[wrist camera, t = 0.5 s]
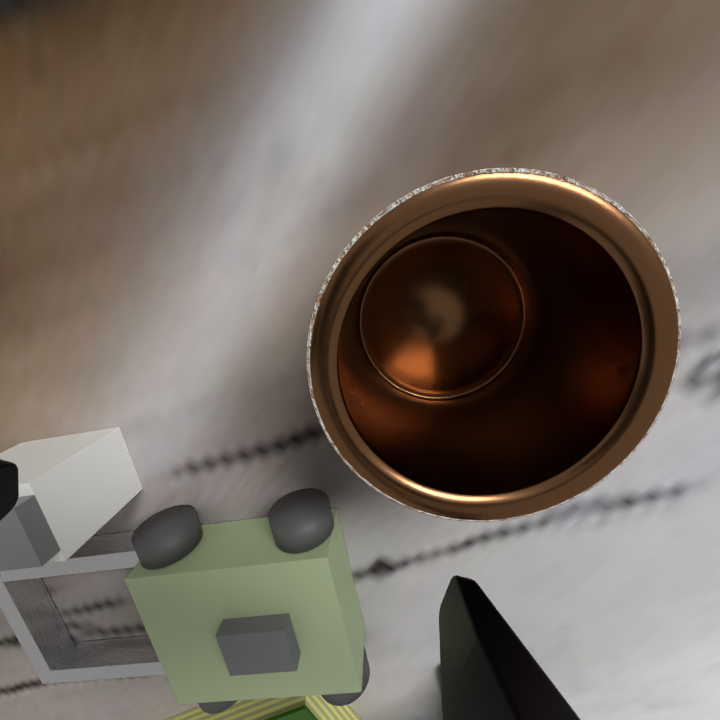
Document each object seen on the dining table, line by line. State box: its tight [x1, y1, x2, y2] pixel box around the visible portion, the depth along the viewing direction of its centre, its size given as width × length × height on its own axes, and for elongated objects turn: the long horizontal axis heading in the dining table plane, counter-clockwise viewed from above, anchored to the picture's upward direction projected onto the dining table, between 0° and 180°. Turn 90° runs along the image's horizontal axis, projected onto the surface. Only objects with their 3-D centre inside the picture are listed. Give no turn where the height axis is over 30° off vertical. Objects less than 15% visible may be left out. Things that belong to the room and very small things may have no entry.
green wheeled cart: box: [124, 489, 370, 714], centre depth 23 cm, size 13×12×5 cm
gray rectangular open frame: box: [0, 531, 165, 684], centre depth 25 cm, size 10×12×2 cm
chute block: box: [0, 427, 143, 571], centre depth 20 cm, size 4×7×7 cm, turn 101°
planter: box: [306, 168, 681, 522], centre depth 15 cm, size 11×11×10 cm
